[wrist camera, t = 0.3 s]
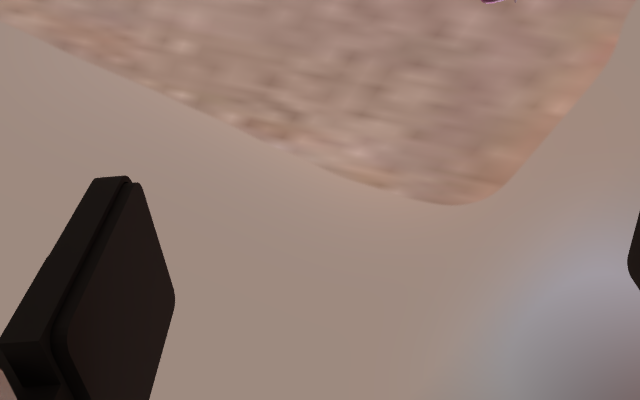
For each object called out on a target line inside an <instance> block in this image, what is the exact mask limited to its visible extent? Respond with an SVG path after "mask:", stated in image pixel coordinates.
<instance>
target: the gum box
mask: <svg viewBox="0 0 640 400" xmlns="http://www.w3.org/2000/svg"><path fill="white" fill-rule="evenodd" d="M481 1H482V2H483V3H487V4H488V3H495V2H499V1H503V0H481ZM516 1H517V0H515V3H516Z"/></svg>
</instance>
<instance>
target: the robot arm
mask: <svg viewBox="0 0 640 400" xmlns="http://www.w3.org/2000/svg"><path fill="white" fill-rule="evenodd" d="M627 264H628V270H629V273H630V276H631V278H632V279H633V281H634V282H635V284H636V285H637V286H638V288H639V290H640V213H639V217H638V220H637V224H636V228H635V231H634V235H633V239H632V243H631V247H630V250H629V254H628V260H627ZM174 306H175V294H174V289H173V286H172V282H171V279H170V276H169V272H168V269H167V266H166V263H165V259H164V256H163V253H162V250H161V247H160V243H159V240H158V237H157V234H156V230H155V227H154V224H153V221H152V217H151V214H150V211H149V208H148V205H147V202H146V198H145V195H144V192H143V189H142V187H141V185H140V184H139V183H132V181H131V180H130V178H129V177H128V176H115V177H102V178H95V179H94V180H93V181H92V183H91V184H90V186H89V188H88V189H87V191H86V193H85V195H84V196H83V198H82V200H81V202H80V203H79V205H78V207H77V208H76V210H75V212H74V214H73V215H72V217H71V219H70V221H69V222H68V224H67V226H66V227H65V229H64V231H63V233H62V234H61V236H60V238H59V240H58V241H57V243H56V244H55V246H54V248H53V250H52V251H51V253H50V255H49V256H48V257H47V258H46V260H45V262H44V263H43V265H42V267H41V268H40V270H39V272H38V274H37V275H36V277H35V279H34V281H33V282H32V284H31V286H30V287H29V289H28V291H27V292H26V294H25V296H24V297H23V299H22V301H21V303H20V304H19V306H18V308H17V309H16V311H15V313H14V315H13V316H12V318H11V320H10V322H9V323H8V325H7V327H6V328H5V330H4V332H3V333H2V335H1V337H0V400H149V398H150V394H151V390H152V387H153V383H154V380H155V376H156V372H157V369H158V365H159V362H160V358H161V354H162V351H163V347H164V344H165V340H166V336H167V333H168V329H169V326H170V322H171V318H172V315H173V311H174Z"/></svg>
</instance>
